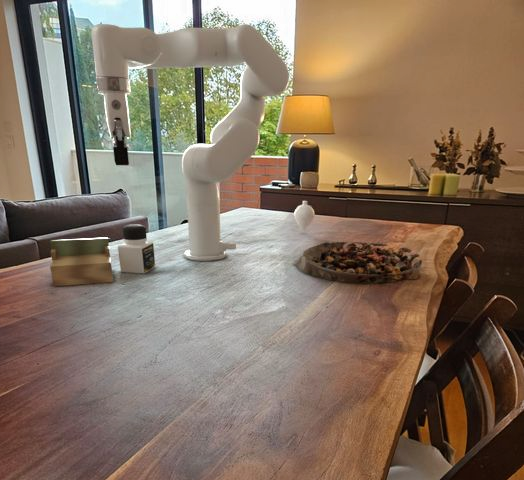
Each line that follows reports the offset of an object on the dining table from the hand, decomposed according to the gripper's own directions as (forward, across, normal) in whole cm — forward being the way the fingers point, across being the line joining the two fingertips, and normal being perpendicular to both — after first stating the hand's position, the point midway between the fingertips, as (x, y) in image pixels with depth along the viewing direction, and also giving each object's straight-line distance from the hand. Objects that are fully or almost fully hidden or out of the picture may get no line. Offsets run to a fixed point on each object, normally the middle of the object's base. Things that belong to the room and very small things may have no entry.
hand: (121, 164), depth 117 cm
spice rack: (+27, -8, +12) cm, 31 cm away
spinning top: (+27, +34, -66) cm, 79 cm away
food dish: (+27, -17, -61) cm, 69 cm away
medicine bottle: (+27, -3, -2) cm, 27 cm away
